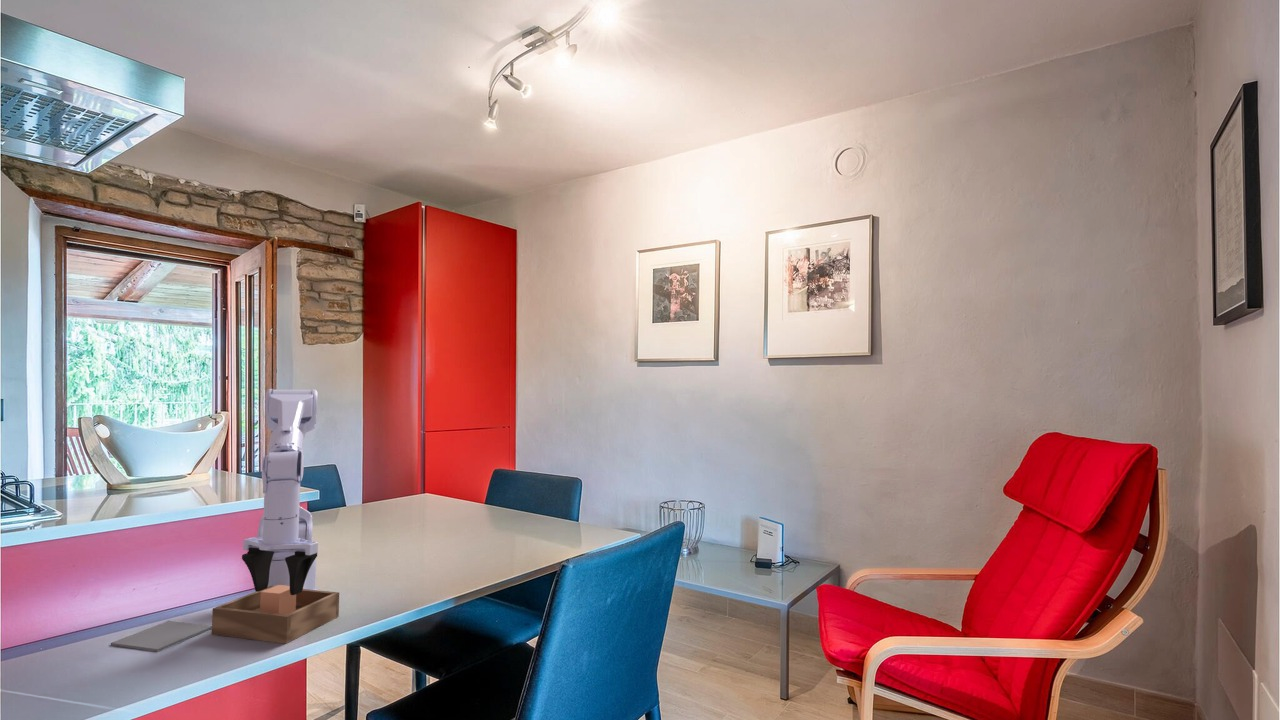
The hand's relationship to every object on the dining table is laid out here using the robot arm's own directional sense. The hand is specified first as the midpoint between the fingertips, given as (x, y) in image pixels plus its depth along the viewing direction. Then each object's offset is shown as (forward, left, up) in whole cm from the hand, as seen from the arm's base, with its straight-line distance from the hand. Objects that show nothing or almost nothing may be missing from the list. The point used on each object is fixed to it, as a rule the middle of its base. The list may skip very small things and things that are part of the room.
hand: (278, 591), depth 111 cm
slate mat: (+9, -15, -6) cm, 19 cm away
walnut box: (0, 0, -6) cm, 6 cm away
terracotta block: (0, 0, -5) cm, 5 cm away
